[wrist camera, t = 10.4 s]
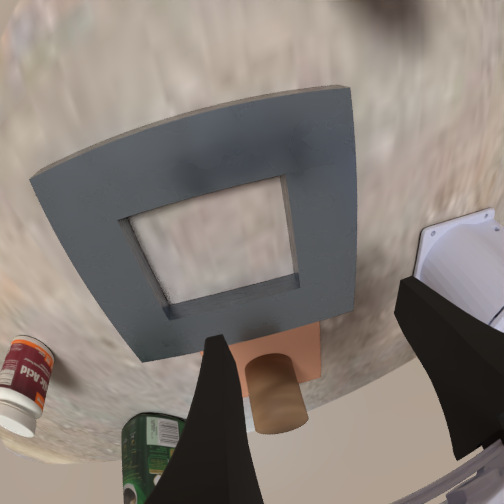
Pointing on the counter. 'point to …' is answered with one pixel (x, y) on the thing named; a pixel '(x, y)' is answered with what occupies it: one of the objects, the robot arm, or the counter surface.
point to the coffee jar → (147, 453)
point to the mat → (283, 352)
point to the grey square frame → (202, 182)
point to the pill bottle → (24, 384)
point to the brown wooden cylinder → (274, 394)
